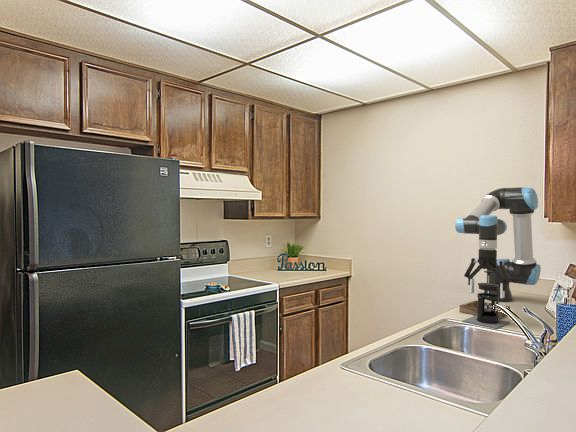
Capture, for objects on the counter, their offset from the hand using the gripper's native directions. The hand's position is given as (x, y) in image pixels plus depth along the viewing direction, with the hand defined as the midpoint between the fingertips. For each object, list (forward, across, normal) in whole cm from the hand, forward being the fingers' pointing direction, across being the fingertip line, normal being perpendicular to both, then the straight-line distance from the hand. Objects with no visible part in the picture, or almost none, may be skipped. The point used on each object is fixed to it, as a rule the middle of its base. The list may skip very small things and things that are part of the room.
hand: (486, 295), depth 188 cm
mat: (+12, 0, 0) cm, 13 cm away
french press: (+12, 0, 0) cm, 12 cm away
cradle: (+13, -8, +17) cm, 23 cm away
